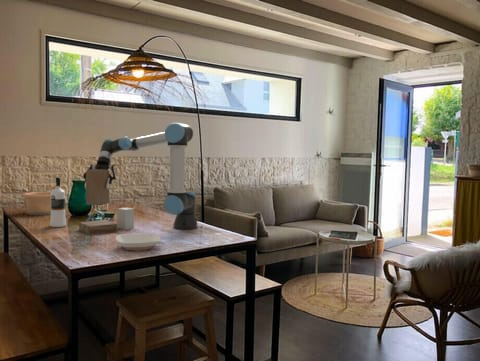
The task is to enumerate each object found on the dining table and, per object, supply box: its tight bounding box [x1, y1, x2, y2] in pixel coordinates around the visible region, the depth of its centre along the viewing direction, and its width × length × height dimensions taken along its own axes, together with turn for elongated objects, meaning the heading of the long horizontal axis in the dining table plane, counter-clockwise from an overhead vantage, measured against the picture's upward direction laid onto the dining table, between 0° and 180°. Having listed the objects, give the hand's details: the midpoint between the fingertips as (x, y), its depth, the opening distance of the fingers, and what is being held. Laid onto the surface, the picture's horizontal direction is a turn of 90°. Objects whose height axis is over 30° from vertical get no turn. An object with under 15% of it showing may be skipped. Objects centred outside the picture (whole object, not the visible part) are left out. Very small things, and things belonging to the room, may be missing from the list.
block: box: [85, 168, 110, 206], centre depth 243 cm, size 10×10×20 cm
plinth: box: [78, 219, 118, 236], centre depth 245 cm, size 16×16×5 cm
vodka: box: [49, 177, 67, 228], centre depth 253 cm, size 9×9×30 cm
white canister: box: [116, 207, 135, 230], centre depth 255 cm, size 7×7×12 cm
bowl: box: [115, 232, 162, 251], centre depth 207 cm, size 22×22×5 cm
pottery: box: [22, 191, 51, 216], centre depth 298 cm, size 22×22×14 cm
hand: (96, 187), depth 240 cm, fingers closed on block, 12 cm apart
